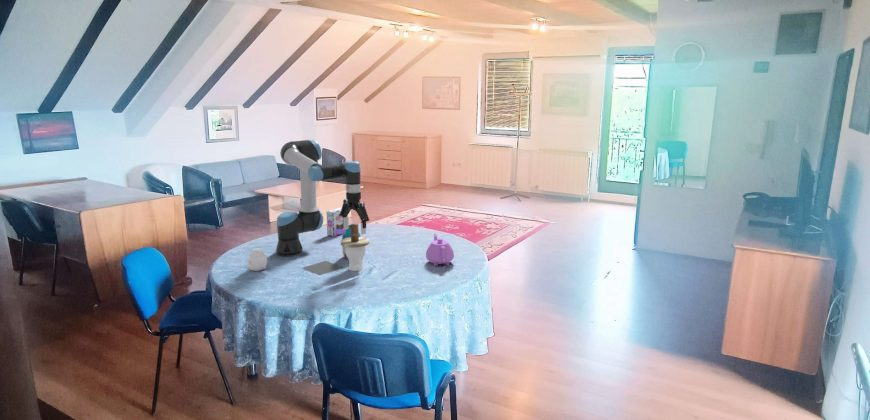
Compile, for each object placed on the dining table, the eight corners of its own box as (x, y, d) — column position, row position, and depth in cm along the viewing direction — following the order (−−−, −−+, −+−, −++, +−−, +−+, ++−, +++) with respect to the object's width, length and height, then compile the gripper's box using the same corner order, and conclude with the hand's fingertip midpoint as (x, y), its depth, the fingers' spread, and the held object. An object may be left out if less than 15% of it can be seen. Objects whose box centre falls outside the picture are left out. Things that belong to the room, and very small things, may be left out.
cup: (364, 273, 278) (363, 246, 275) (344, 273, 279) (343, 246, 275) (367, 266, 289) (366, 240, 285) (347, 266, 289) (346, 240, 285)
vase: (357, 262, 296) (356, 229, 291) (339, 261, 298) (338, 227, 293) (364, 256, 306) (363, 224, 301) (346, 255, 308) (345, 223, 304)
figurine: (272, 268, 286) (270, 246, 284) (260, 274, 277) (259, 252, 275) (256, 266, 290) (255, 244, 287) (244, 271, 281) (243, 250, 278)
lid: (334, 243, 279) (333, 224, 277) (356, 237, 290) (356, 219, 288) (353, 249, 270) (352, 229, 267) (375, 242, 281) (374, 224, 278)
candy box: (333, 236, 344) (332, 212, 340) (327, 235, 347) (325, 210, 343) (348, 232, 355) (347, 208, 351) (341, 230, 358) (340, 206, 354)
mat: (301, 269, 284) (301, 268, 283) (325, 262, 295) (325, 260, 295) (320, 276, 274) (319, 275, 273) (344, 268, 285) (344, 267, 285)
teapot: (421, 257, 305) (421, 233, 302) (447, 255, 309) (448, 232, 305) (430, 269, 284) (430, 245, 281) (458, 267, 288) (458, 243, 285)
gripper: (332, 189, 279) (333, 228, 284) (364, 196, 263) (365, 237, 268) (343, 187, 284) (344, 225, 289) (375, 193, 269) (376, 234, 274)
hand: (354, 231), depth 279 cm, fingers open, 13 cm apart
